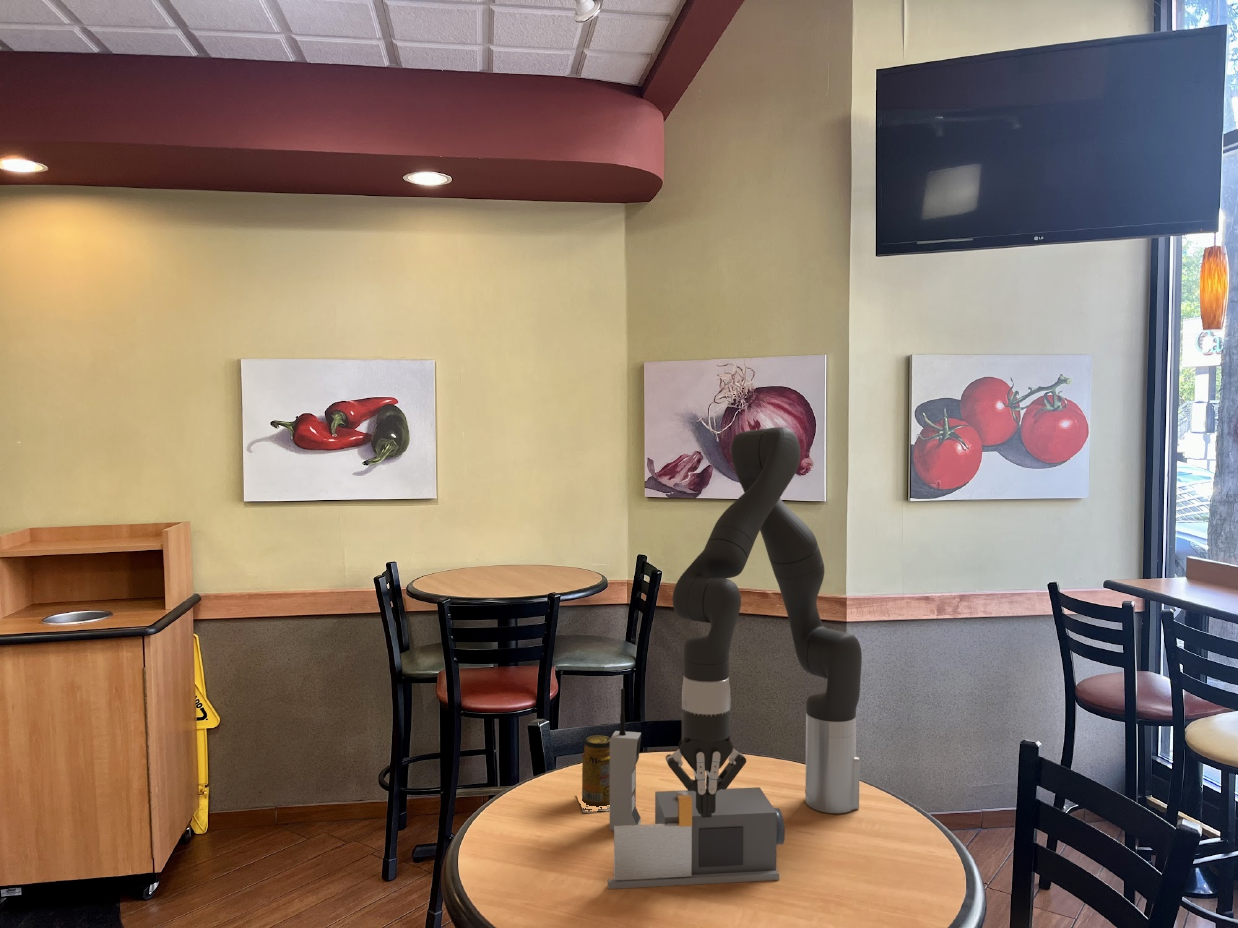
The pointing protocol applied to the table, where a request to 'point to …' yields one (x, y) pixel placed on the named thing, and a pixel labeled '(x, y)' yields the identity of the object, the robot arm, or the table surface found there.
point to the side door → (655, 847)
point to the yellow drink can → (596, 772)
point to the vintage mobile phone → (623, 774)
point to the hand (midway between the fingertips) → (705, 815)
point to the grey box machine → (723, 839)
